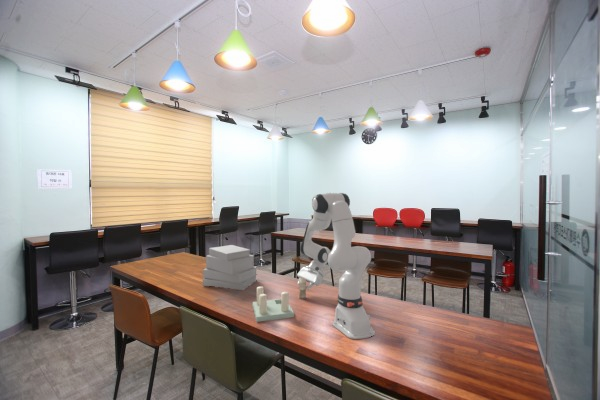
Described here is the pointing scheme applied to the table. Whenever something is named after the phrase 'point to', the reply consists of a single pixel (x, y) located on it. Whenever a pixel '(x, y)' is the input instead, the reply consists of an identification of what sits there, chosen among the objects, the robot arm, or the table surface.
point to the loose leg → (302, 288)
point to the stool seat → (271, 307)
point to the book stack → (229, 268)
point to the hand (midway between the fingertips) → (302, 286)
